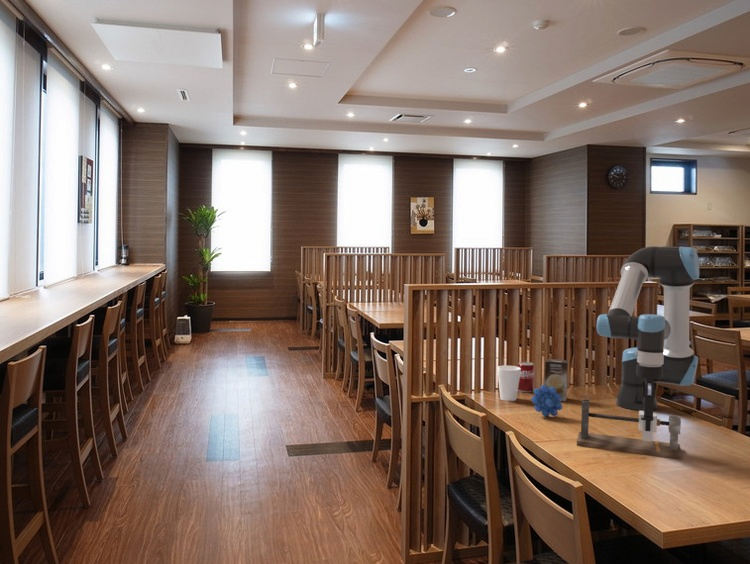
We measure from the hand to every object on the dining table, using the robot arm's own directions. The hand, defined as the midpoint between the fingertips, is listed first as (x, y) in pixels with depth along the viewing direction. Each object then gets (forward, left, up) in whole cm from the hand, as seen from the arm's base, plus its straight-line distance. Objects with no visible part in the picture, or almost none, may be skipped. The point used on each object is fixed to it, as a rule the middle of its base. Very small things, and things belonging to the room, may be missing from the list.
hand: (646, 437), depth 188 cm
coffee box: (-18, -59, -4) cm, 62 cm away
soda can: (-16, -75, -4) cm, 77 cm away
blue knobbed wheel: (+4, -40, -4) cm, 40 cm away
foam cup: (0, -67, -4) cm, 67 cm away
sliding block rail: (+4, -4, -4) cm, 7 cm away
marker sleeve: (0, 0, +3) cm, 3 cm away
